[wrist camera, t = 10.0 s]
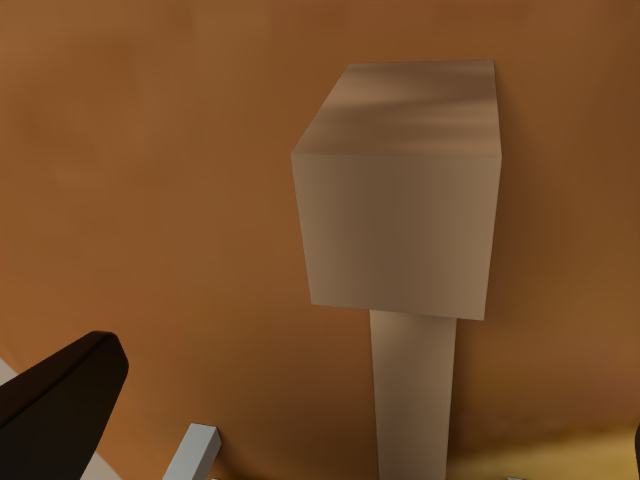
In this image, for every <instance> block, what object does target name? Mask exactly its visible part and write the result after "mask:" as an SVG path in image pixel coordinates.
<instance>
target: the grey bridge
mask: <svg viewBox="0 0 640 480" xmlns="http://www.w3.org/2000/svg"><path fill="white" fill-rule="evenodd" d="M221 444H222V443H221V440H220V437H219V434H218V431H217V428H216V427H212V426H206V425H201V424H195V423H191V425H190V427H189V429H188V430H187V432H186V434H185V436H184V438H183V440H182V442H181V444H180V446H179V448H178V450H177V452H176V454H175V456H174V458H173V460H172V461H171V463H170V465H169V467H168V469H167V471H166V473H165V475H164V477H163V479H162V480H206V478H207V476H208V473H209V471H210V469H211V467H212V464H213V462H214V460H215V458H216V455H217V453H218V451H219V449H220V446H221ZM212 480H217V479H212ZM507 480H522V479H516V478H510V477H508V478H507Z"/></svg>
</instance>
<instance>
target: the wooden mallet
mask: <svg viewBox="0 0 640 480" xmlns="http://www.w3.org/2000/svg"><path fill="white" fill-rule="evenodd" d="M290 155H291V162H292V169H293V176H294V183H295V190H296V197H297V204H298V212H299V219H300V226H301V233H302V240H303V247H304V254H305V261H306V268H307V275H308V282H309V289H310V296H311V303H312V304H314V305H324V306H335V307H345V308H356V309H367V310H370V325H371V342H372V360H373V377H374V395H375V413H376V430H377V448H378V465H379V480H445V474H446V460H447V446H448V432H449V418H450V405H451V391H452V377H453V363H454V349H455V336H456V322H457V318H462V319H472V320H483V321H484V312H485V303H486V294H487V285H488V277H489V268H490V259H491V250H492V241H493V232H494V223H495V215H496V206H497V197H498V188H499V179H500V170H501V161H502V154H501V142H500V130H499V118H498V106H497V94H496V82H495V70H494V60H464V61H426V62H388V63H351V64H349V65H348V66H347V68H346V69H345V71H344V72H343V74H342V75H341V77H340V78H339V80H338V81H337V83H336V85H335V86H334V88H333V89H332V91H331V92H330V94H329V95H328V97H327V98H326V100H325V102H324V103H323V105H322V106H321V108H320V109H319V111H318V112H317V114H316V115H315V117H314V118H313V120H312V122H311V123H310V125H309V126H308V128H307V129H306V131H305V132H304V134H303V135H302V137H301V139H300V140H299V142H298V143H297V145H296V146H295V148H294V149H293V151H292V152H291V154H290Z"/></svg>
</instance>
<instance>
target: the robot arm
mask: <svg viewBox="0 0 640 480" xmlns="http://www.w3.org/2000/svg"><path fill="white" fill-rule="evenodd" d="M128 370H129V363H128V359H127V357H126V355H125V353H124V350H123V348H122V346H121V343H120V341H119V339H118V337H117V335H116V334H114V333H112V332H106V331H92V332H90V333H88V334H86V335H85V336H83V337H81V338H80V339H78V340H76V341H75V342H73V343H71V344H70V345H68V346H66V347H65V348H63V349H61V350H60V351H58V352H56V353H55V354H53V355H51V356H50V357H48V358H46V359H45V360H43V361H41V362H40V363H38V364H36V365H35V366H33V367H31V368H30V369H28V370H26V371H25V372H23V373H21V374H20V375H18V376H16V377H15V378H13V379H11V380H10V381H8V382H6V383H4V384H3V385H1V386H0V480H80V478H81V476H82V475H83V473H84V471H85V469H86V467H87V465H88V463H89V462H90V460H91V458H92V456H93V454H94V452H95V450H96V448H97V446H98V443H99V441H100V439H101V437H102V434H103V432H104V430H105V427H106V425H107V422H108V420H109V418H110V415H111V413H112V410H113V408H114V406H115V403H116V401H117V398H118V396H119V394H120V391H121V389H122V386H123V384H124V382H125V379H126V377H127V374H128ZM635 452H636V459H637V466H638V473H639V480H640V424H639V426H638V428H637V431H636V435H635Z"/></svg>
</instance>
